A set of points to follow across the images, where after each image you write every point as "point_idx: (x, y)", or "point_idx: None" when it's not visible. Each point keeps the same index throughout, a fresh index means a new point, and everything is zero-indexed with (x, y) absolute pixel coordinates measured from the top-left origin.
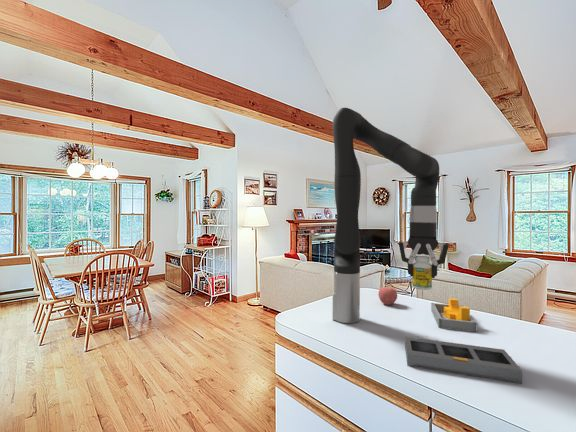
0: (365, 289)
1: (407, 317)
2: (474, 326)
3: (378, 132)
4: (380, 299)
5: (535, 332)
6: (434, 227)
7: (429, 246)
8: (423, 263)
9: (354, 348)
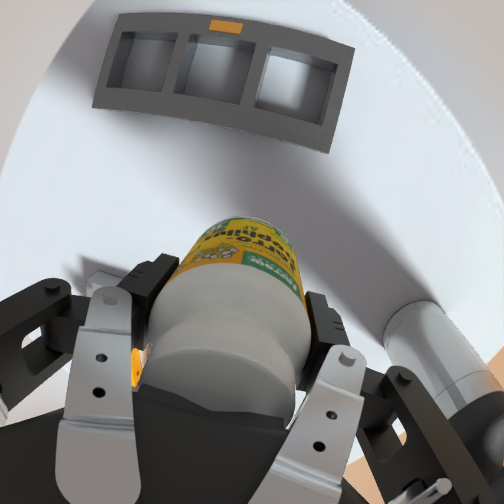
0: None
1: None
2: (94, 277)
3: None
4: None
5: (11, 274)
6: None
7: (76, 454)
8: (228, 313)
9: (446, 146)
